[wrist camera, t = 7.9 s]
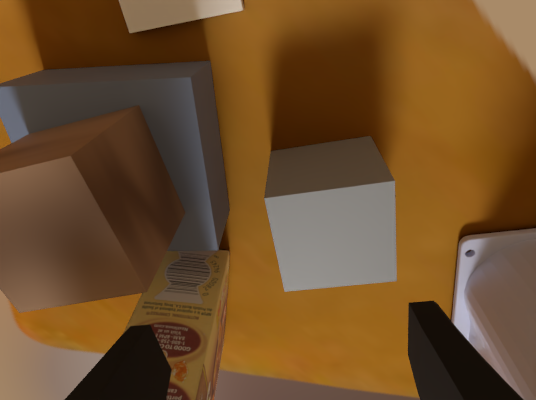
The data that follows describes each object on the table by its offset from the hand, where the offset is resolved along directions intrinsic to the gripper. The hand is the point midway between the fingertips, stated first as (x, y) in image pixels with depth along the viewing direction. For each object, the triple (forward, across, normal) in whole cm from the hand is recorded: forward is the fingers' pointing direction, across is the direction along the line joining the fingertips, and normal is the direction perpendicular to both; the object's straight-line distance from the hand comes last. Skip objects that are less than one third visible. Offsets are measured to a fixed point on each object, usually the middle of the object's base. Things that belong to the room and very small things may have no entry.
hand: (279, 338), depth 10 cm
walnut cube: (+7, +7, -3) cm, 10 cm away
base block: (+11, +7, -3) cm, 13 cm away
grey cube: (+10, -2, +1) cm, 11 cm away
